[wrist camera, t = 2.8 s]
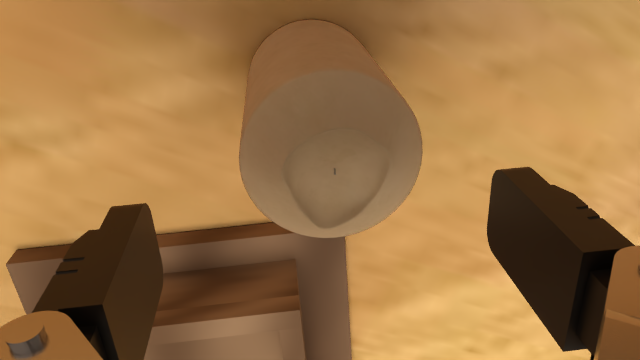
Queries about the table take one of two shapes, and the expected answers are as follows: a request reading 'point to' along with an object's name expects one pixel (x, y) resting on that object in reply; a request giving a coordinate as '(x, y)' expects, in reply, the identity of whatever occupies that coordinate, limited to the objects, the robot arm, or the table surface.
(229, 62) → the table surface
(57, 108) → the table surface
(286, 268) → the display pedestal
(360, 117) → the candle
